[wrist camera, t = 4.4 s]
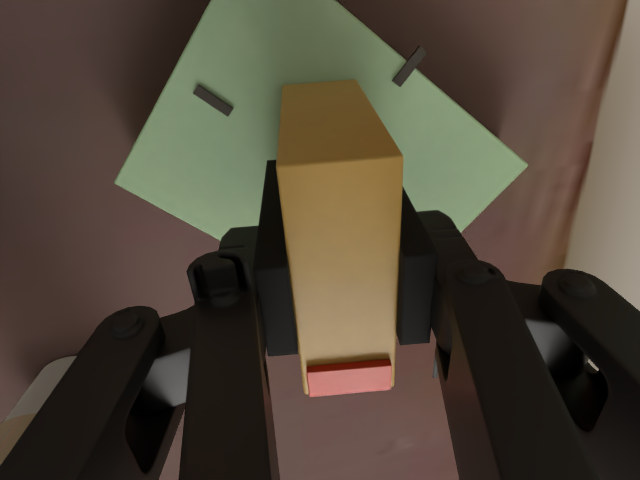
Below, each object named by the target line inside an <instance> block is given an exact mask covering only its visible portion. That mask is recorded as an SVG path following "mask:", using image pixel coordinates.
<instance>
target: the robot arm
mask: <svg viewBox="0 0 640 480" xmlns="http://www.w3.org/2000/svg"><path fill="white" fill-rule="evenodd" d="M276 161H277V160H267V164H266V172H265V179H264V187H263V195H262V202H261V210H260V217H259V225H258V226H247V227H234V228H230V229H229V230H228V231H227V232H226V233H225V235H224V236H223V237H222V238H221V242H220V246H219V250H218V251H215V252H211V253H207V254H205V255H203V256H201V257H199V258H197V259H196V260H195V261H193V262H192V263H191V264H190V265H189V267H188V270H187V275H188V279H189V282H190V286H191V289H192V293H193V297H194V300H195V304H194V305H193V306H192V307H190V308H188V309H186V310H183V311H181V312H178V313H175V314H172V315H168V316H165V317H162V318H159V315H158V313H157V311H156V310H154V309H152V308H151V307H146V306H134V307H128V308H125V309H122V310H119V311H117V312H115V313H113V314H112V315H110V316H108V317H107V318H105V319H104V320H103V321H102V322H101V323H100V324H99V325H98V326H97V328H96V329H95V331H94V332H93V334H92V335H91V336H90V338H89V339H88V341H87V342H86V344H85V345H84V346H83V348H82V349H81V351H80V352H79V354H78V355H77V357H76V358H75V359H74V361H73V362H72V364H71V365H70V367H69V368H68V369H67V371H66V372H65V374H64V375H63V377H62V378H61V379H60V381H59V382H58V384H57V385H56V387H55V388H54V389H53V391H52V392H51V394H50V395H49V397H48V398H47V399H46V401H45V402H44V404H43V405H42V407H41V408H40V409H39V411H38V412H37V414H36V415H35V417H34V418H33V419H32V421H31V422H30V424H29V425H28V427H27V428H26V429H25V431H24V432H23V434H22V435H21V437H20V438H19V439H18V441H17V442H16V444H15V445H14V447H13V448H12V450H11V451H10V452H9V454H8V455H7V457H6V458H5V460H4V461H3V462H2V464H1V465H0V480H159V477H160V474H161V472H162V469H163V466H164V464H165V461H166V458H167V455H168V453H169V450H170V447H171V444H172V442H173V439H174V436H175V434H176V431H177V428H178V425H179V423H180V420H181V417H182V415H183V412H184V409H185V415H184V426H183V437H182V448H181V460H180V471H179V480H280V475H279V466H278V457H277V449H276V440H275V431H274V422H273V413H272V404H271V395H270V387H269V378H268V370H267V364H266V359H265V354H266V348H267V353H268V356H280V355H291V354H298V339H297V331H296V323H295V315H294V306H293V298H292V290H291V282H290V274H289V265H288V257H287V252H286V244H285V236H284V228H283V220H282V212H281V204H280V196H279V188H278V180H277V171H276ZM431 327H432V330H433V332H434V335H435V337H436V349H435V358H434V367H433V378H437V374H439V379H440V384H441V389H442V394H443V399H444V404H445V409H446V414H447V419H448V424H449V429H450V434H451V439H452V444H453V450H454V455H455V460H456V465H457V470H458V475H459V480H640V311H639V310H637V309H636V308H635V307H634V306H633V305H631V304H630V303H629V302H628V301H626V300H625V299H624V298H623V297H622V296H621V295H619V294H618V293H617V292H616V291H614V290H613V289H612V288H611V287H609V286H608V285H607V284H606V283H604V282H603V281H602V280H600V279H598V278H597V277H595V276H593V275H591V274H588V273H585V272H583V271H578V270H572V269H557V270H554V271H551V272H548V273H547V274H546V275H545V276H544V277H543V281H542V284H541V285H534V284H526V283H518V282H512V281H508V280H506V279H505V277H504V275H503V274H502V273H501V271H500V270H499V269H498V268H496V267H495V266H493V265H491V264H490V263H487V262H483V261H480V260H478V259H477V257H476V256H475V254H474V253H473V251H472V250H471V248H470V247H469V245H468V244H467V242H466V241H465V239H464V237H462V234H461V233H460V231H459V230H458V229H457V227H456V225H455V224H454V222H453V221H452V219H451V218H450V217H449V216H447V215H446V214H444V213H442V212H441V211H439V210H430V211H417V212H416V210H415V208H414V206H413V204H412V203H411V201H410V199H409V197H408V195H407V193H406V191H405V189H404V187H403V186H402V210H401V234H400V256H399V280H398V303H397V326H396V333H397V336H398V340H399V343H400V345H408V344H419V343H430V333H431ZM588 359H590V360H591V361H592V362H593V363H594V364H595V365H596V367H598V368H599V371H597V370H595V369H594V368H593V367H592V366H591V365H590V364H589V363H588Z"/></svg>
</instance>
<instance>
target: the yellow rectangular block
mask: <svg viewBox="0 0 640 480" xmlns="http://www.w3.org/2000/svg"><path fill="white" fill-rule="evenodd" d="M403 162H404V156H403V154H402V153H401V151H400V150H399V148H398V146H397V145H396V143H395V141H394V140H393V138H392V137H391V135H390V133H389V132H388V130H387V129H386V127H385V125H384V124H383V122H382V121H381V119H380V117H379V116H378V114H377V112H376V111H375V109H374V108H373V106H372V104H371V103H370V101H369V100H368V98H367V96H366V95H365V93H364V92H363V90H362V88H361V87H360V85H359V83H358V82H357V80H355V79H353V80H340V81H327V82H314V83H301V84H289V85H283V87H282V98H281V111H280V123H279V136H278V148H277V161H276V171H277V180H278V188H279V196H280V204H281V212H282V220H283V228H284V236H285V244H286V252H287V257H288V265H289V274H290V282H291V290H292V298H293V306H294V315H295V323H296V331H297V339H298V348H299V356H300V364H301V372H302V380H303V388H304V393H305V394H309V396H310V397H314V396H326V395H337V394H348V393H359V392H370V391H382V390H391V387H393V386H394V378H395V354H396V326H397V303H398V280H399V256H400V234H401V210H402V186H403Z"/></svg>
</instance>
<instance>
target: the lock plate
mask: <svg viewBox="0 0 640 480" xmlns="http://www.w3.org/2000/svg"><path fill="white" fill-rule="evenodd" d="M426 54H427V52H426V51H425V50H424V49H423V48H421V47H420V46H418V47H417V49H416V50H415V51H414V53H413V54H412V55H411V57H410V58H409V59H408V60H407V61H406V60H405V59H404V58H403V57H402V56H401V55H399V54H398V53H397V52H396V51H395V50H394V49H392V48H391V47H390V46H389V45H388V44H387V43H385V42H384V41H383V40H382V39H381V38H379V37H378V36H377V35H376V34H375V33H374V32H372V31H371V30H370V29H369V28H368V27H367V26H365V25H364V24H363V23H362V22H361V21H359V20H358V19H357V18H356V17H355V16H354V15H352V14H351V13H350V12H349V11H348V10H347V9H345V8H344V7H343V6H342V5H341V4H340V3H338V2H337V1H336V0H210V2H209V4H208V6H207V8H206V10H205V12H204V13H203V15H202V17H201V19H200V21H199V23H198V25H197V27H196V28H195V30H194V32H193V34H192V36H191V38H190V40H189V42H188V44H187V45H186V47H185V49H184V51H183V53H182V55H181V57H180V59H179V61H178V62H177V64H176V66H175V68H174V70H173V72H172V74H171V76H170V78H169V79H168V81H167V83H166V85H165V87H164V89H163V91H162V93H161V94H160V96H159V98H158V100H157V102H156V104H155V106H154V108H153V110H152V111H151V113H150V115H149V117H148V119H147V121H146V123H145V125H144V127H143V128H142V130H141V132H140V134H139V136H138V138H137V140H136V142H135V144H134V145H133V147H132V149H131V151H130V153H129V155H128V157H127V159H126V160H125V162H124V164H123V166H122V168H121V170H120V172H119V174H118V176H117V177H116V179H115V181H114V183H115V184H116V185H118V186H120V187H122V188H124V189H126V190H128V191H129V192H131V193H133V194H135V195H137V196H139V197H141V198H142V199H144V200H146V201H148V202H150V203H152V204H153V205H155V206H157V207H159V208H161V209H163V210H165V211H166V212H168V213H170V214H172V215H174V216H176V217H178V218H179V219H181V220H183V221H185V222H187V223H189V224H190V225H192V226H194V227H196V228H198V229H200V230H202V231H203V232H205V233H207V234H209V235H211V236H213V237H214V238H216V239H218V240H220V241H221V238H222V237H223V236H224V235H225V233H226V232H227V231H228V230H229V229H230V228H234V227H247V226H258V225H259V217H260V210H261V202H262V195H263V187H264V179H265V172H266V164H267V160H277V148H278V136H279V123H280V111H281V98H282V87H283V85H289V84H301V83H314V82H327V81H340V80H353V79H355V80H357V82H358V83H359V85H360V87H361V88H362V90H363V92H364V93H365V95H366V96H367V98H368V100H369V101H370V103H371V104H372V106H373V108H374V109H375V111H376V112H377V114H378V116H379V117H380V119H381V121H382V122H383V124H384V125H385V127H386V129H387V130H388V132H389V133H390V135H391V137H392V138H393V140H394V141H395V143H396V145H397V146H398V148H399V150H400V151H401V153H402V154H403V156H404V162H403V187H404V189H405V191H406V193H407V195H408V197H409V199H410V201H411V203H412V204H413V206H414V208H415V210H416V212H417V211H430V210H439V211H441V212H442V213H444V214H446V215H447V216H449V217H450V218H451V219H452V221H453V222H454V224H455V225H456V227H457V229H458V230H459V231H460V233H461V232H462V231H463V230H464V229H465V228H466V227H467V226H468V225H469V224H470V223H471V222H472V221H473V220H474V219H475V218H476V217H477V216H478V215H479V214H480V213H481V212H482V211H483V210H484V209H485V208H486V207H487V206H488V205H489V204H490V203H491V202H492V201H493V200H494V199H495V198H496V197H497V196H498V195H499V194H500V193H501V192H502V191H503V190H504V189H505V188H506V187H507V186H508V185H509V184H510V183H511V182H512V181H513V180H514V179H515V178H516V177H517V176H518V175H519V174H520V173H521V172H522V171H523V170H524V169H525V168H526V167H527V166H528V163H526V162H525V161H524V160H523V159H522V158H520V157H519V156H518V155H517V154H516V153H515V152H513V151H512V150H511V149H510V148H509V147H508V146H506V145H505V144H504V143H503V142H502V141H500V140H499V139H498V138H497V137H496V136H495V135H493V134H492V133H491V132H490V131H489V130H488V129H486V128H485V127H484V126H483V125H482V124H481V123H479V122H478V121H477V120H476V119H475V118H473V117H472V116H471V115H470V114H469V113H468V112H466V111H465V110H464V109H463V108H462V107H461V106H459V105H458V104H457V103H456V102H455V101H453V100H452V99H451V98H450V97H449V96H448V95H446V94H445V93H444V92H443V91H442V90H441V89H439V88H438V87H437V86H436V85H435V84H434V83H432V82H431V81H430V80H429V79H428V78H426V77H425V76H424V75H423V74H422V73H421V72H419V71H418V70H417V69H416V67H417V66H418V64H419V63H420V62H421V60H422V59H423V58H424V57H425V55H426Z"/></svg>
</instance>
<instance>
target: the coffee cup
mask: <svg viewBox="0 0 640 480" xmlns="http://www.w3.org/2000/svg"><path fill="white" fill-rule="evenodd" d="M76 357H77V356H70V357H65V358H61V359H58V360H55V361H53V362H51V363H50V364H48V365H47V366H45V367H44V368H43V369H42V371H41V372H40V373H39V375H38V376H37V377H36V379H35V380H34V381H33V383H32V384H31V385H30V387H29V388H28V389H27V391H26V392H25V393H24V395H23V396H22V397H21V399H20V400H19V401H18V403H17V404H16V405H15V407H14V408H13V409H12V411H11V412H10V413H9V415H8V416H7V417H6V419H5V420H4V421H3V423H1V424H0V465H1V464H2V462H3V461H4V460H5V458H6V457H7V455H8V454H9V452H10V451H11V450H12V448H13V447H14V445H15V444H16V442H17V441H18V439H19V438H20V437H21V435H22V434H23V432H24V431H25V429H26V428H27V427H28V425H29V424H30V422H31V421H32V419H33V418H34V417H35V415H36V414H37V412H38V411H39V409H40V408H41V407H42V405H43V404H44V402H45V401H46V399H47V398H48V397H49V395H50V394H51V392H52V391H53V389H54V388H55V387H56V385H57V384H58V382H59V381H60V379H61V378H62V377H63V375H64V374H65V372H66V371H67V369H68V368H69V367H70V365H71V364H72V362H73V361H74V359H75V358H76Z"/></svg>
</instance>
